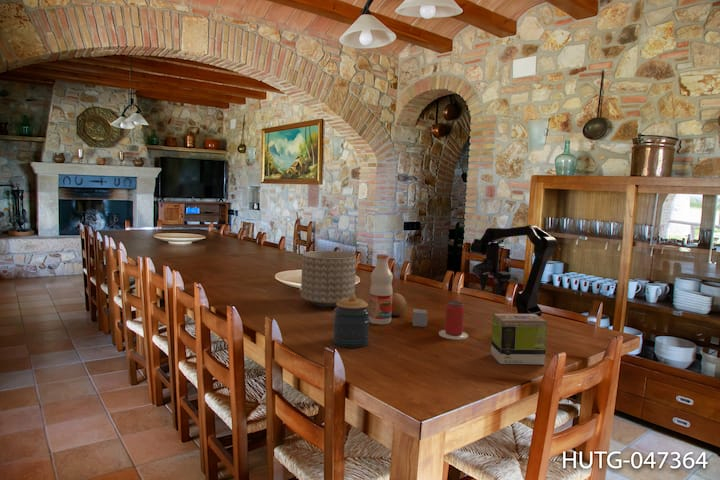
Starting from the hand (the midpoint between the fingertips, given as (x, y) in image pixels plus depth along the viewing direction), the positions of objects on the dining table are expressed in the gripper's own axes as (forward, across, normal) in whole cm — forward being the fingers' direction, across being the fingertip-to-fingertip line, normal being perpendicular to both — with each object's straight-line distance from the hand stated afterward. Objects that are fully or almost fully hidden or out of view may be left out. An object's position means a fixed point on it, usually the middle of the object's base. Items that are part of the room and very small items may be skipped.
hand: (489, 292), depth 205 cm
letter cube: (+12, -2, -34) cm, 36 cm away
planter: (+12, -43, -59) cm, 74 cm away
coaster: (+12, +15, -29) cm, 35 cm away
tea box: (+12, +44, -24) cm, 52 cm away
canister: (+12, +11, -70) cm, 72 cm away
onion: (+12, -17, -37) cm, 42 cm away
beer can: (+12, +15, -29) cm, 35 cm away
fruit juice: (+12, -10, -48) cm, 51 cm away
